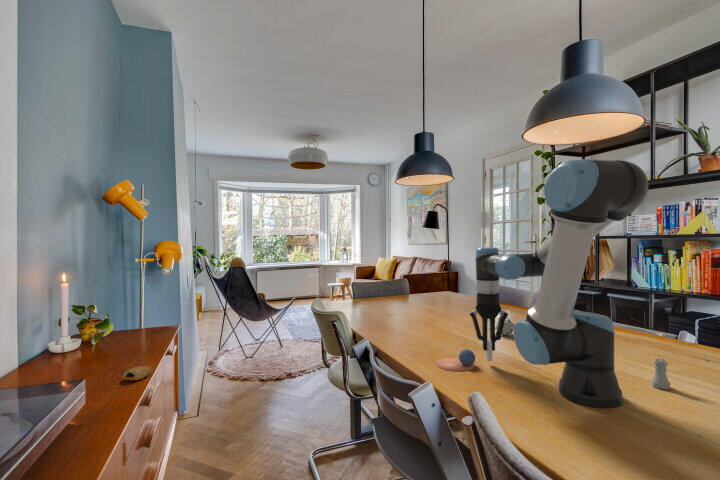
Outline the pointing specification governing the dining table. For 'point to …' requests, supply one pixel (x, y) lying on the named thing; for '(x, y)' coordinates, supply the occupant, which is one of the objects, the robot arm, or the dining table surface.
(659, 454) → the dining table surface
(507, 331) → the game die
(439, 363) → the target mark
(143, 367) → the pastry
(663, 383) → the rook chess piece
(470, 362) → the ball
